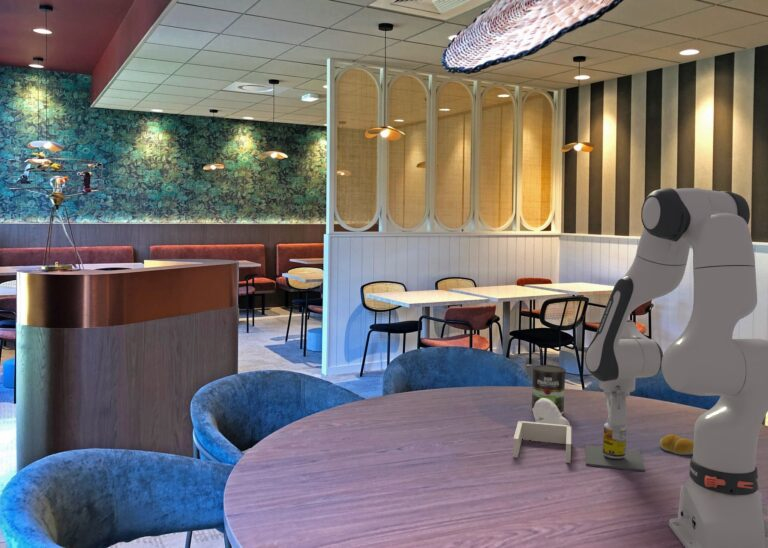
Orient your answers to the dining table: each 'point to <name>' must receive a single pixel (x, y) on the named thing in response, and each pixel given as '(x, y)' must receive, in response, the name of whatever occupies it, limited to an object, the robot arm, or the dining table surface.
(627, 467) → the mat
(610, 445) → the supplement bottle
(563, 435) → the beige u-shaped bracket
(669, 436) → the bread roll
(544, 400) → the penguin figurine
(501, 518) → the dining table surface
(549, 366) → the coffee can
